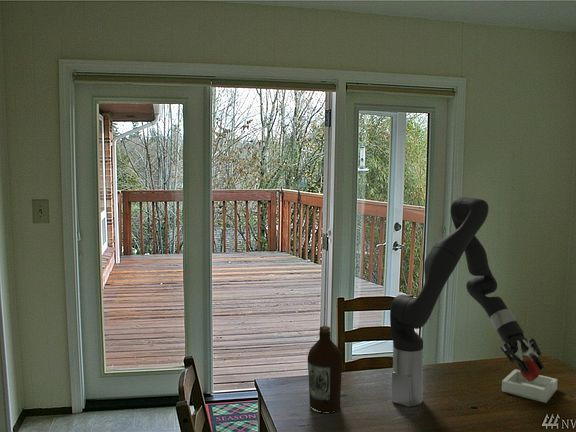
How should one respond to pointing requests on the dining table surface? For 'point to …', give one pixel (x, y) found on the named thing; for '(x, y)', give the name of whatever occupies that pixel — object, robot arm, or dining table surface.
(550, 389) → the bin
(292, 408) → the dining table surface
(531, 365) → the onion
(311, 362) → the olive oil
